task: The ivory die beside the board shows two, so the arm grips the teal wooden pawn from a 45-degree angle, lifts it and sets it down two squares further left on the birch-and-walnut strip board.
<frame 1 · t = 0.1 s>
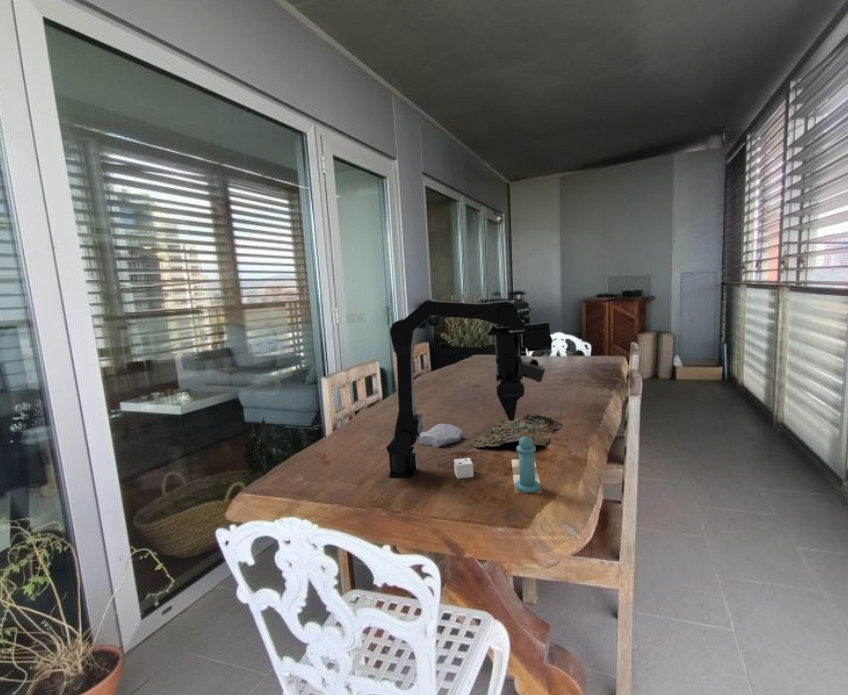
hand: (511, 415, 115), 15 cm above the table, tool pointing down, fingers open, 9 cm apart
pawn: (527, 488, 106), point 1 cm above the table, touching board
board: (525, 477, 113), on the table
die: (464, 477, 116), on the table
stone block: (443, 442, 144), on the table
terrain model: (512, 436, 146), on the table
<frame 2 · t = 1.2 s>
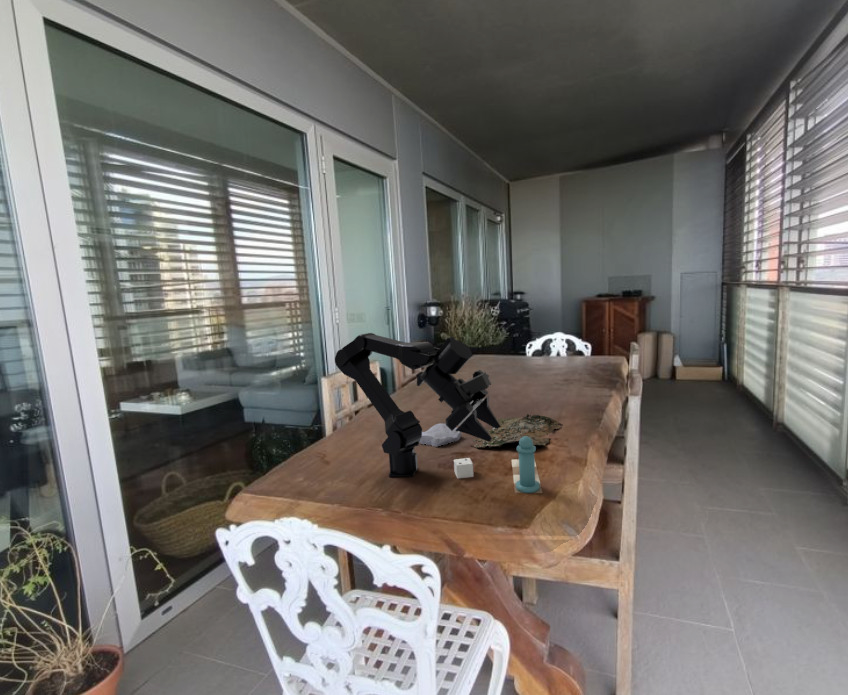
hand: (494, 433, 107), 13 cm above the table, tool tilted 45°, fingers open, 9 cm apart
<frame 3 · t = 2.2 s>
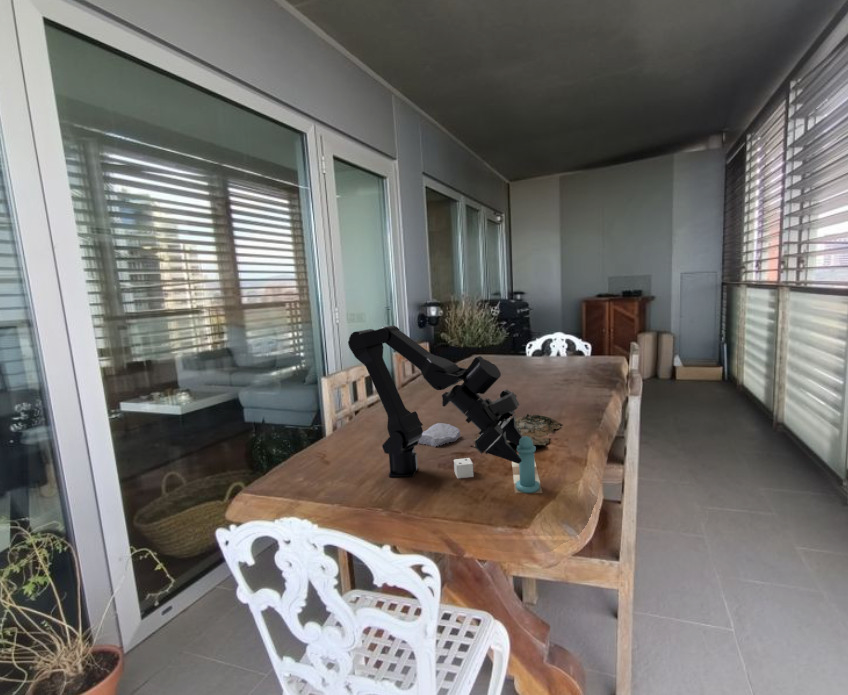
hand: (523, 454, 105), 8 cm above the table, tool tilted 45°, fingers open, 9 cm apart
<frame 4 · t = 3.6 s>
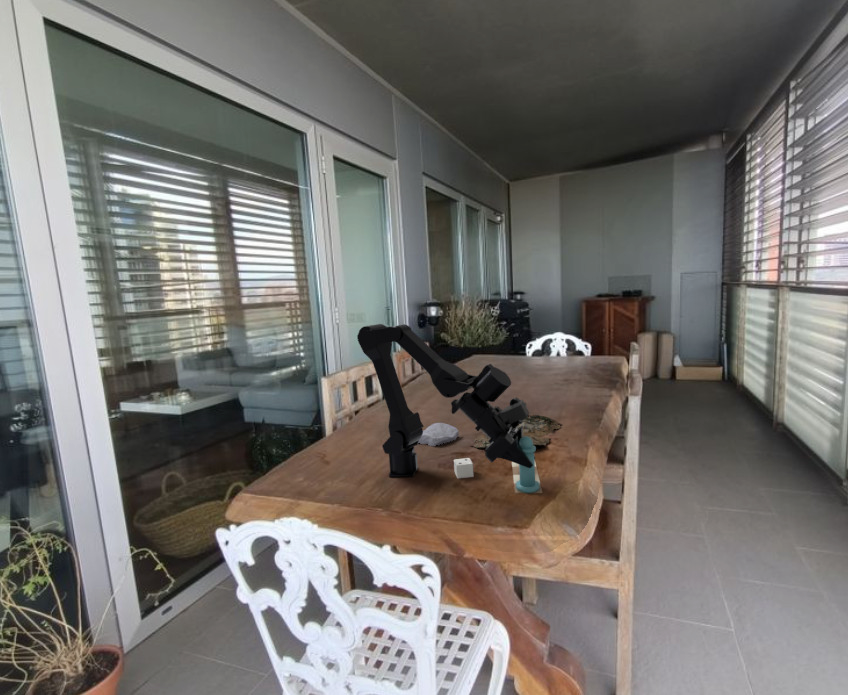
hand: (533, 463, 105), 7 cm above the table, tool tilted 45°, fingers closed on pawn, 4 cm apart
pawn: (527, 488, 106), point 1 cm above the table, touching board, gripper
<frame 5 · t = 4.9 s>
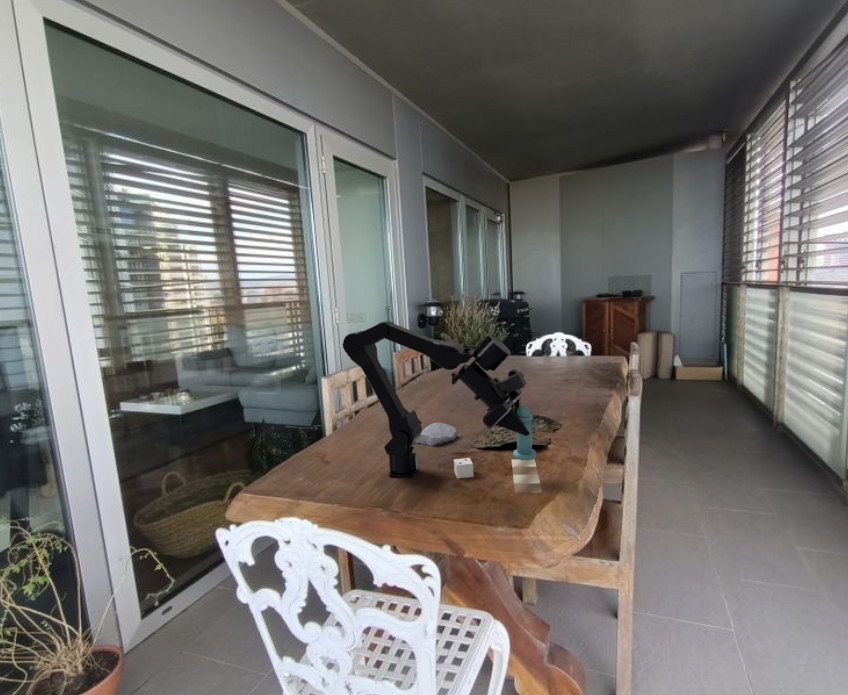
hand: (529, 431, 108), 12 cm above the table, tool tilted 45°, fingers closed on pawn, 4 cm apart
pawn: (524, 456, 110), point 6 cm above the table, touching gripper
when the fingers open (7 cm above the table, at t = 6.6 s): pawn stays where it is, resting on board.
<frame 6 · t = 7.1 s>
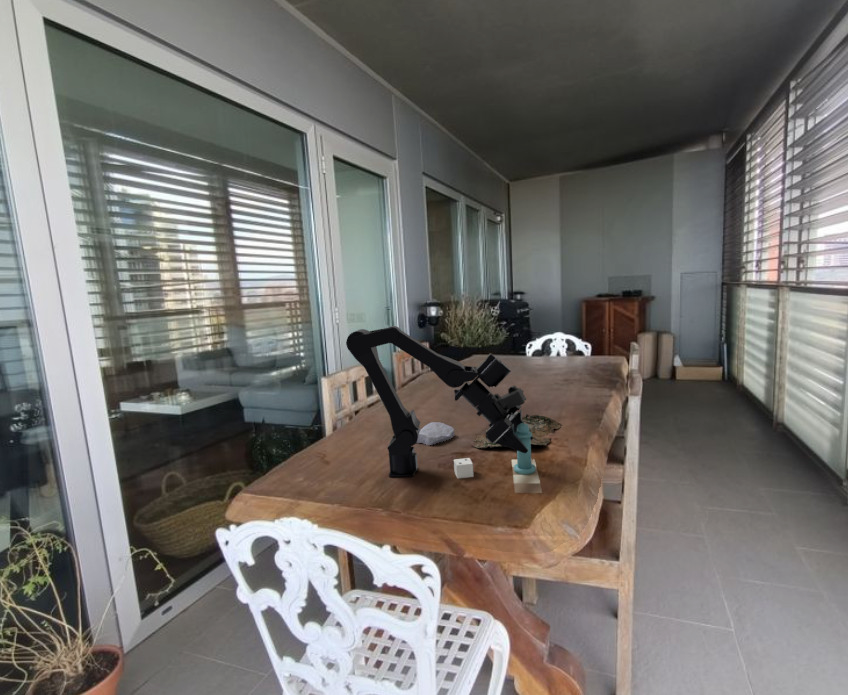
hand: (529, 445, 114), 7 cm above the table, tool tilted 45°, fingers open, 9 cm apart
pawn: (524, 470, 116), point 1 cm above the table, touching board
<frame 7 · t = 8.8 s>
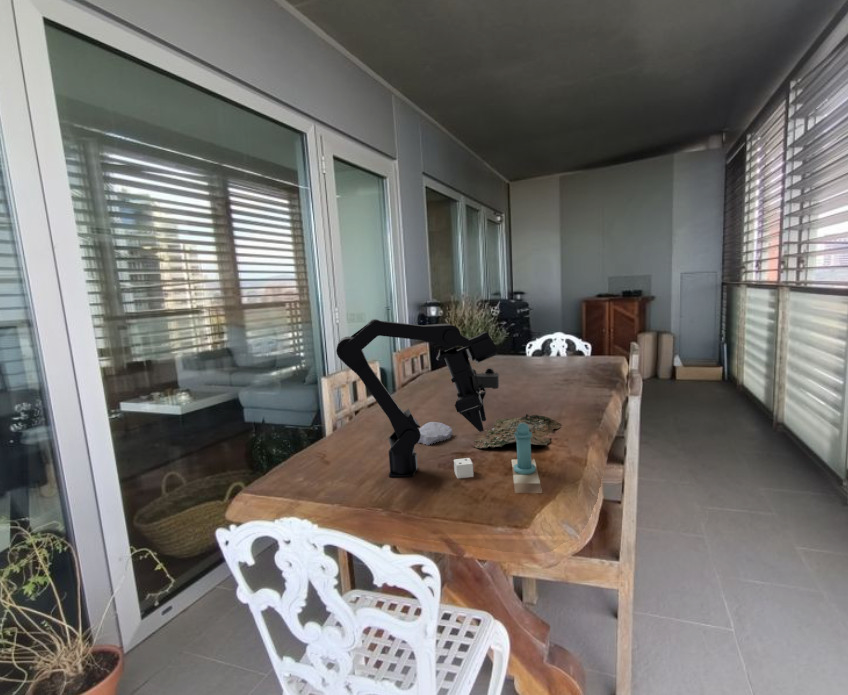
hand: (483, 425, 121), 11 cm above the table, tool tilted 20°, fingers open, 9 cm apart
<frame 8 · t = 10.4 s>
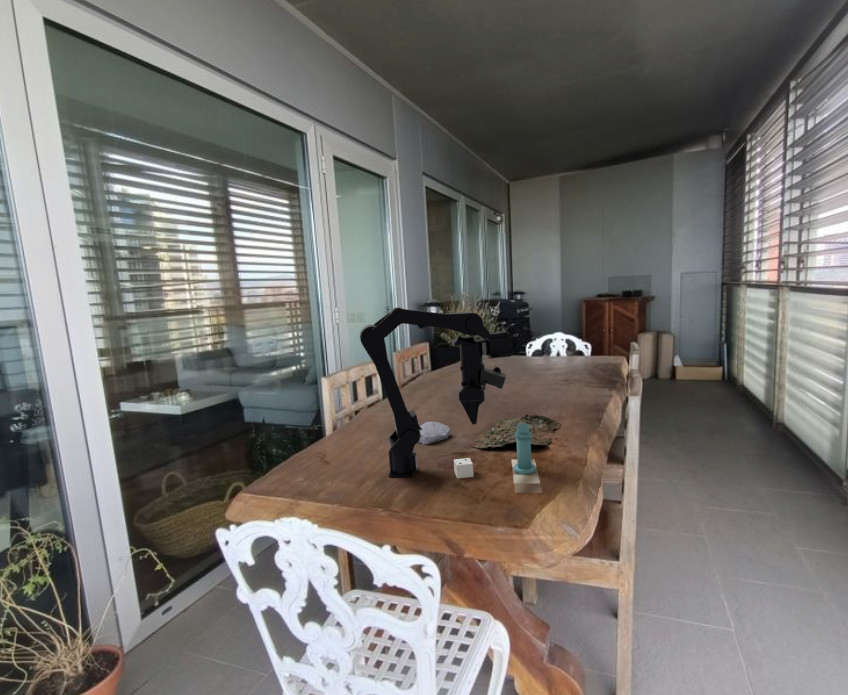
hand: (475, 419, 123), 12 cm above the table, tool pointing down, fingers open, 9 cm apart
at the end: pawn 0.0 cm from the target spot, point 0.6 cm above the table; pawn tilted 0°; the gripper is holding nothing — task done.
